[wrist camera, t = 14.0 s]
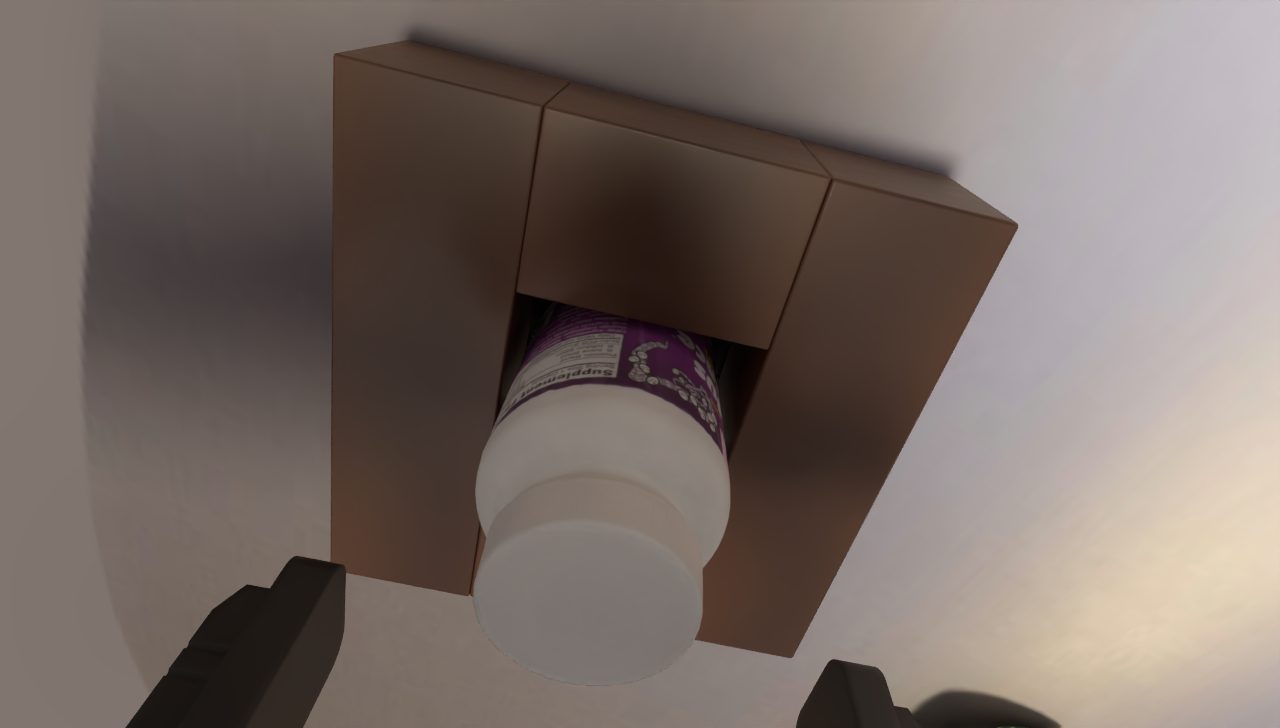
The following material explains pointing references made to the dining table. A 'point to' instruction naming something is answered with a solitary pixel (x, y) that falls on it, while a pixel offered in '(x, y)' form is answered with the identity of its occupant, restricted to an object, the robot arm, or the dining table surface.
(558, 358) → the pill bottle
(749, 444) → the holder
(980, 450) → the dining table surface
